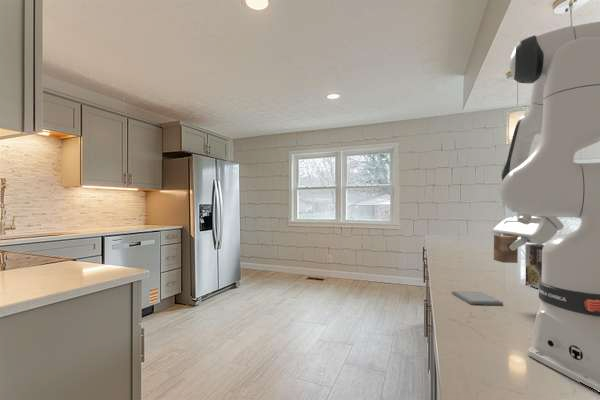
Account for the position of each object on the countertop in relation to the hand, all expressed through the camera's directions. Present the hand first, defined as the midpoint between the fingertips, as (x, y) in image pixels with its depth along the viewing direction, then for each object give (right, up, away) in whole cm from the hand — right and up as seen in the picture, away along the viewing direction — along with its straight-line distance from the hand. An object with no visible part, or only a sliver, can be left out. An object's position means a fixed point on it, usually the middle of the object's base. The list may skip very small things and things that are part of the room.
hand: (503, 247), depth 95 cm
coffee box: (+26, -18, +17) cm, 36 cm away
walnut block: (+1, -4, 0) cm, 4 cm away
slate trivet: (-8, -17, +1) cm, 19 cm away
